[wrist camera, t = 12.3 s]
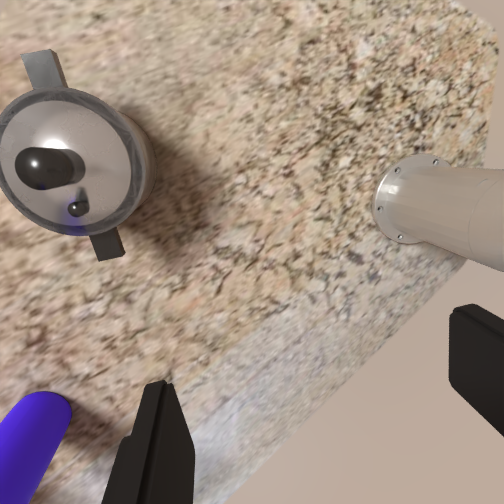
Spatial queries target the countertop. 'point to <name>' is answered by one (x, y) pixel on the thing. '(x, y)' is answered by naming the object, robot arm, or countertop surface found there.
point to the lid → (66, 163)
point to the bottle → (30, 443)
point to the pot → (140, 148)
